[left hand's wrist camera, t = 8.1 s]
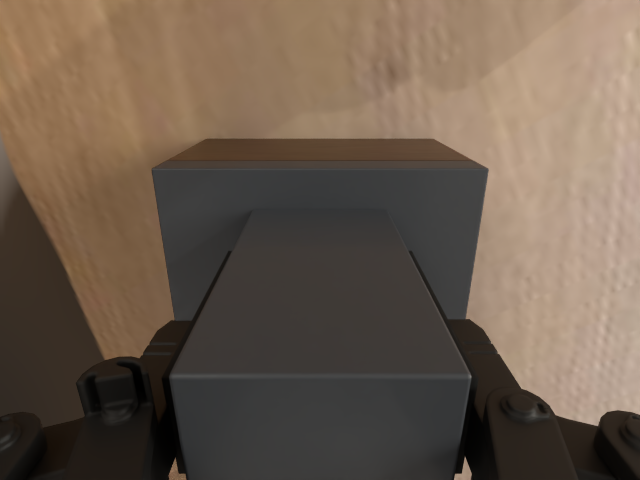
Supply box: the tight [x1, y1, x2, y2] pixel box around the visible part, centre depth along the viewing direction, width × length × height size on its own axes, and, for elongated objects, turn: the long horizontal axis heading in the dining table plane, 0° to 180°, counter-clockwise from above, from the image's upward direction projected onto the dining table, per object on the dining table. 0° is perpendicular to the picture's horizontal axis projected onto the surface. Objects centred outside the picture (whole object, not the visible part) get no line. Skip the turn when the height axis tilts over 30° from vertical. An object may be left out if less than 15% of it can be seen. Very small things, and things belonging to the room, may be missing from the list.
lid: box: [152, 161, 488, 480], centre depth 14 cm, size 14×12×12 cm
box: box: [167, 139, 473, 161], centre depth 23 cm, size 24×12×6 cm, turn 0°
